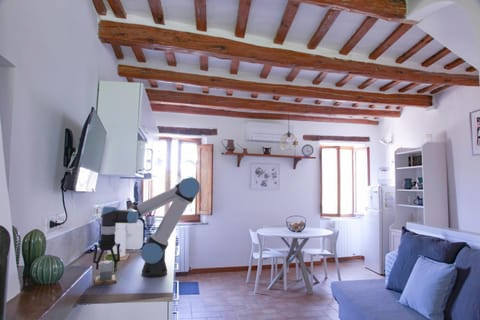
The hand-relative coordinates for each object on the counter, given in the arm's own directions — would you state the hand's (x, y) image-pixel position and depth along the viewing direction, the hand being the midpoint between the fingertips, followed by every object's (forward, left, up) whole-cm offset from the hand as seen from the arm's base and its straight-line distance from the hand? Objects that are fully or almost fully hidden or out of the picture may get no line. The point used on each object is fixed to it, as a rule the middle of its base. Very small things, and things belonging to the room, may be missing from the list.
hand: (105, 274), depth 182 cm
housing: (0, 0, -2) cm, 2 cm away
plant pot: (-4, -24, -4) cm, 25 cm away
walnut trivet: (0, 0, -4) cm, 4 cm away
